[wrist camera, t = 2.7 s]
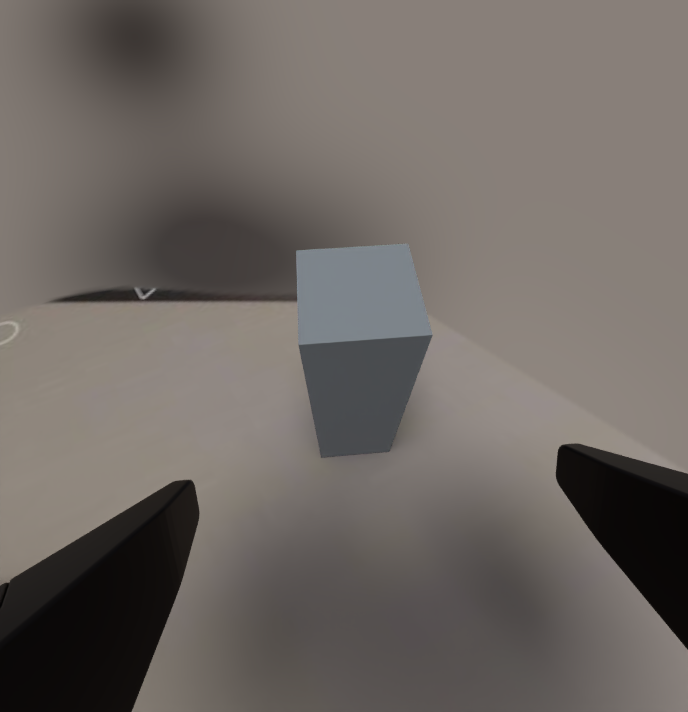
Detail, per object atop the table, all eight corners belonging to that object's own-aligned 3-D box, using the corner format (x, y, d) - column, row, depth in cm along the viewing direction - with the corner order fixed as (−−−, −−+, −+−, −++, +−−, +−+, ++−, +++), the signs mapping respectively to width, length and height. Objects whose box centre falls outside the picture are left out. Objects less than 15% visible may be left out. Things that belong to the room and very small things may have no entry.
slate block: (379, 390, 23) (408, 243, 13) (389, 451, 21) (432, 334, 11) (318, 395, 23) (296, 250, 12) (321, 457, 21) (298, 344, 10)
